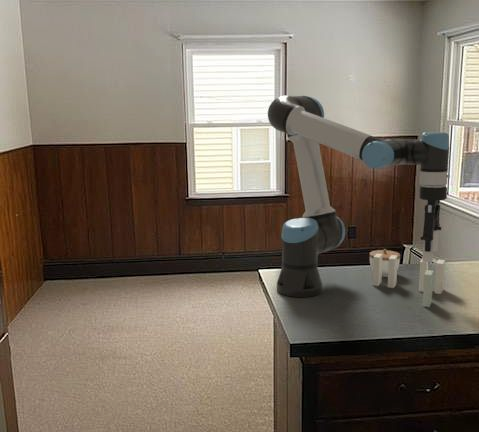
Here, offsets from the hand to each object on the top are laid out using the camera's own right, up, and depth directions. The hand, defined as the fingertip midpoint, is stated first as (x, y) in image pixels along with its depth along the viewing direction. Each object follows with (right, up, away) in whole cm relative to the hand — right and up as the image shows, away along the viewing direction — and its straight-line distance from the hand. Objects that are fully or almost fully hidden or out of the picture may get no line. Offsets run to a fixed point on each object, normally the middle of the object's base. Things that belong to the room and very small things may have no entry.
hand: (430, 256), depth 157 cm
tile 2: (-5, -11, +21) cm, 24 cm away
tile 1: (-10, -11, +23) cm, 27 cm away
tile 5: (+8, -12, +14) cm, 21 cm away
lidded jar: (-5, -9, +34) cm, 35 cm away
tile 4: (+4, -12, +17) cm, 21 cm away
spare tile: (0, -15, +3) cm, 15 cm away
